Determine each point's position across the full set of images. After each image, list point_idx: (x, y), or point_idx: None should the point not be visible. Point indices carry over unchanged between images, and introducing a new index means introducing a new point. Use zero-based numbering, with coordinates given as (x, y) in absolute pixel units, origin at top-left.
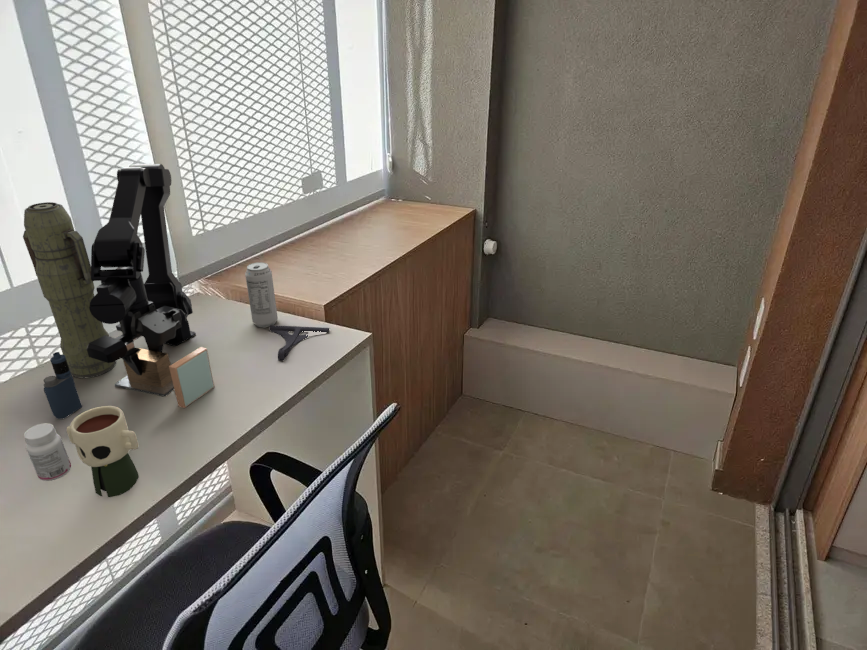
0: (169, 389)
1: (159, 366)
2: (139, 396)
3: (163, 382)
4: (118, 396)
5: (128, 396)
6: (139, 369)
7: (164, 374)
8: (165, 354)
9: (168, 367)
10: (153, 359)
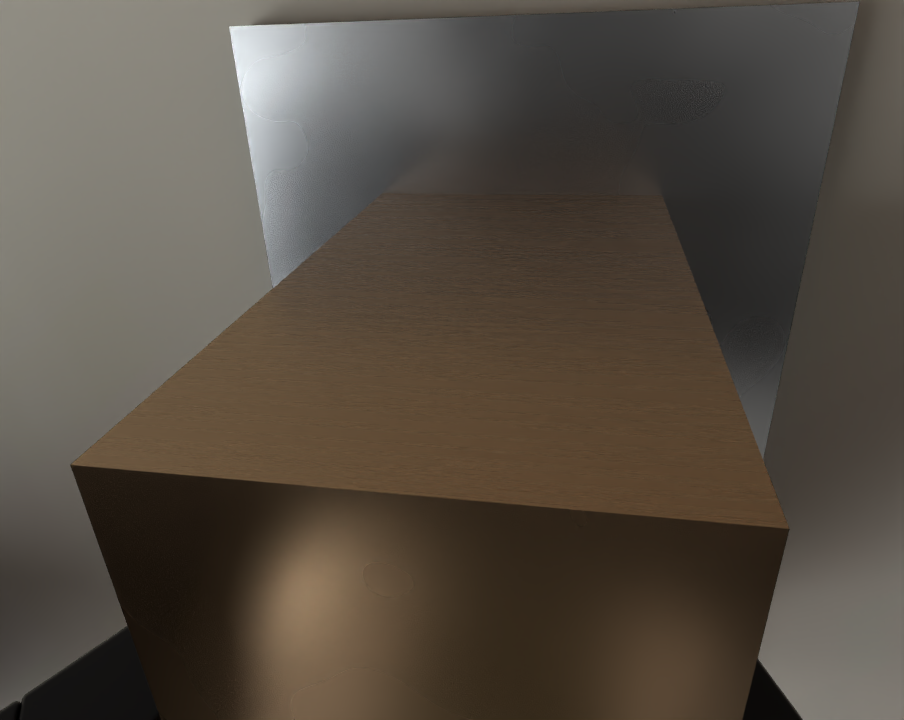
0: (693, 24)
1: (620, 370)
2: (879, 390)
3: (611, 211)
4: (901, 606)
5: (891, 511)
6: (772, 711)
7: (531, 252)
8: (163, 497)
9: (364, 275)
10: (613, 678)
